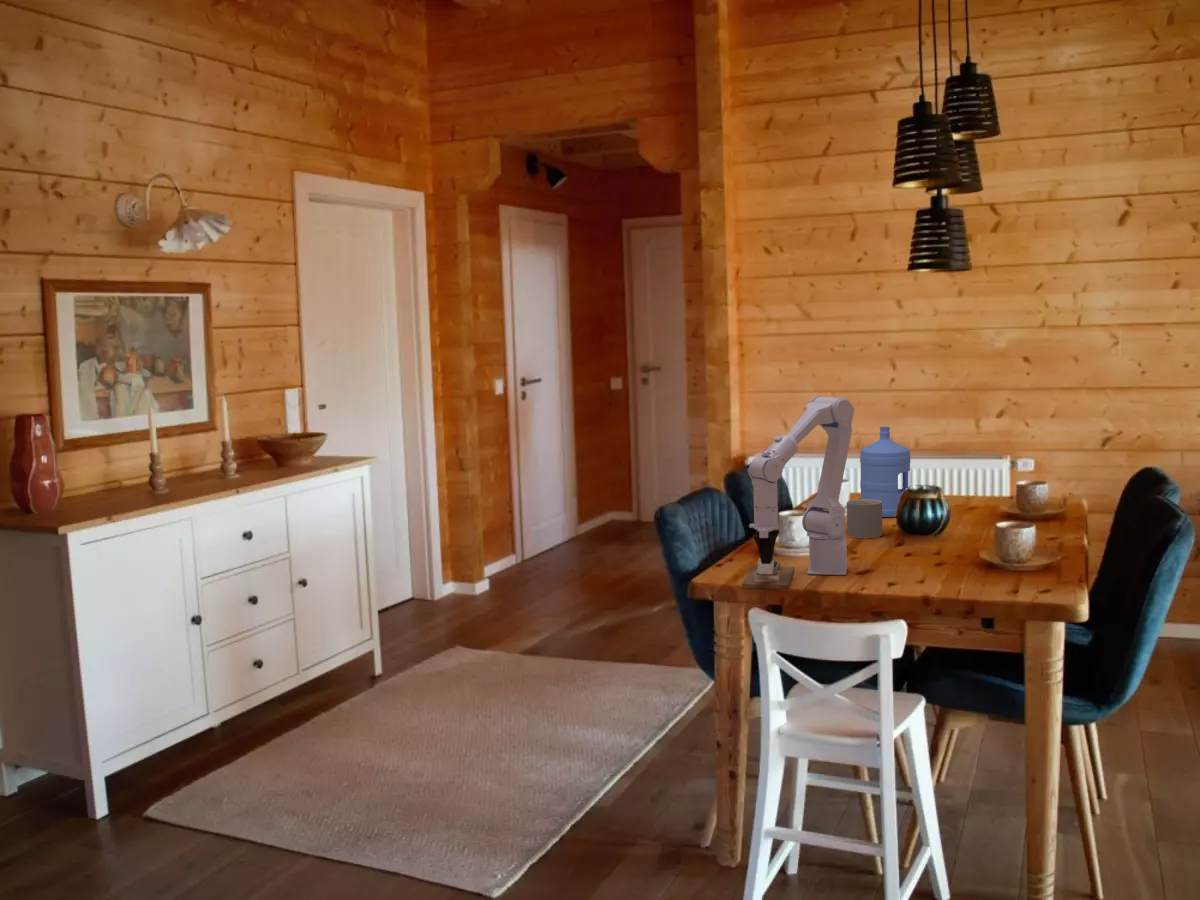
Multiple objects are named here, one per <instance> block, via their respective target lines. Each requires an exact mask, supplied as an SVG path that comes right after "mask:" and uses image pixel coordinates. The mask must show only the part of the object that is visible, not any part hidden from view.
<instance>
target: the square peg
mask: <svg viewBox="0 0 1200 900" xmlns="http://www.w3.org/2000/svg"><path fill="white" fill-rule="evenodd" d="M774 561H775V559H774V558H772V560H771V564H762V562H761V559H760V557H759V558H758V559H757V566H758V575H766V576H774Z"/></svg>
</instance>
